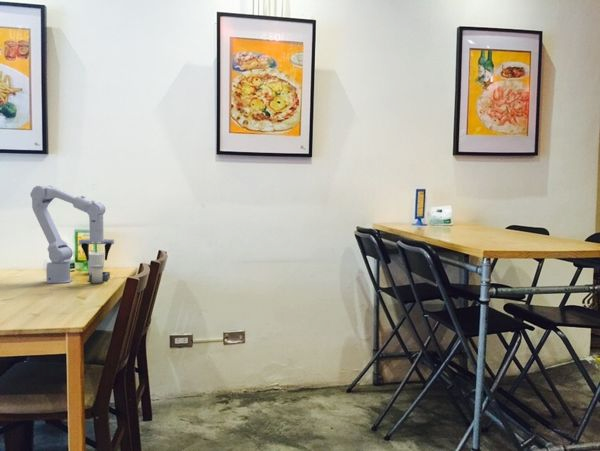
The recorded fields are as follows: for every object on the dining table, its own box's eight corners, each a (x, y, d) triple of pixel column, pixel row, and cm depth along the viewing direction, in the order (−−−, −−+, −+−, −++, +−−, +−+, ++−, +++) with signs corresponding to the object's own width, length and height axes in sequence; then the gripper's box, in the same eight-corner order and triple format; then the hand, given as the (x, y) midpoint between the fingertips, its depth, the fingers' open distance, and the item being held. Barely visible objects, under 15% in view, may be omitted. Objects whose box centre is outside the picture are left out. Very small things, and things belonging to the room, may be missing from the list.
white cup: (87, 272, 253) (86, 252, 252) (103, 271, 256) (103, 252, 256) (87, 275, 246) (87, 255, 245) (105, 274, 249) (104, 254, 248)
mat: (89, 284, 225) (89, 283, 225) (91, 281, 231) (91, 280, 231) (103, 284, 226) (103, 283, 226) (105, 281, 232) (105, 280, 232)
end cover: (90, 283, 226) (90, 266, 225) (92, 280, 231) (91, 264, 230) (102, 282, 227) (102, 266, 226) (103, 280, 232) (103, 264, 231)
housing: (89, 281, 231) (88, 275, 231) (91, 278, 239) (91, 272, 238) (107, 281, 233) (107, 274, 233) (109, 277, 240) (109, 271, 240)
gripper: (77, 231, 221) (77, 261, 222) (112, 230, 224) (112, 261, 225) (80, 229, 228) (80, 259, 229) (114, 229, 231) (114, 258, 232)
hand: (96, 260), depth 228 cm, fingers open, 7 cm apart
